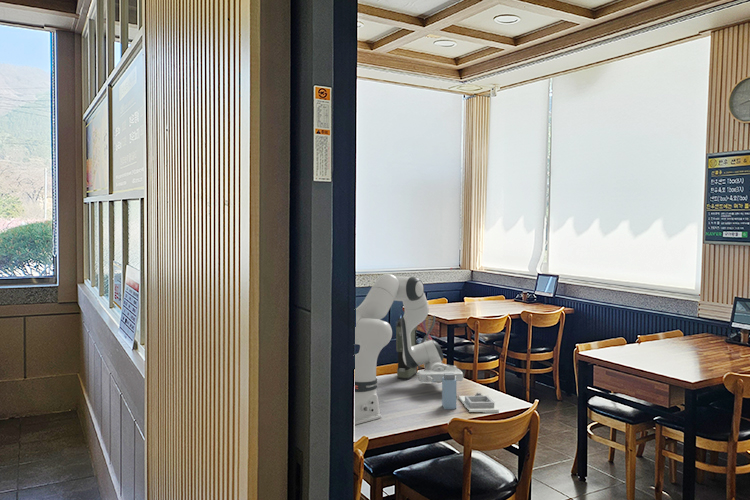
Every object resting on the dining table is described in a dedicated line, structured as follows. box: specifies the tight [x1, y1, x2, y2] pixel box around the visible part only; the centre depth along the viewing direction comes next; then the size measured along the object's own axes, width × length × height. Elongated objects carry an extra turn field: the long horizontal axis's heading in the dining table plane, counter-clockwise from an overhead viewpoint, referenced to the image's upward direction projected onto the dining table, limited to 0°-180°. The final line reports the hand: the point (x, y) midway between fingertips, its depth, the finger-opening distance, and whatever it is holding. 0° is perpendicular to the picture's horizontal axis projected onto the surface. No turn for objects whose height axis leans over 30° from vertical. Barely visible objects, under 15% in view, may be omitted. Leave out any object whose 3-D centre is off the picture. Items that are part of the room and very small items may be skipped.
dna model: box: [419, 315, 436, 344], centre depth 296 cm, size 9×9×30 cm
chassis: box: [458, 392, 500, 414], centre depth 242 cm, size 20×12×3 cm, turn 4°
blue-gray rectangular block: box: [441, 373, 457, 410], centre depth 240 cm, size 5×5×14 cm
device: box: [395, 317, 419, 381], centre depth 289 cm, size 14×8×30 cm, turn 156°
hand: (443, 380), depth 252 cm, fingers open, 8 cm apart
